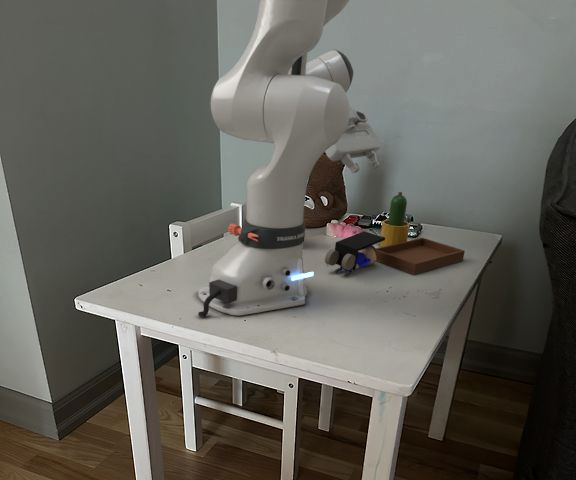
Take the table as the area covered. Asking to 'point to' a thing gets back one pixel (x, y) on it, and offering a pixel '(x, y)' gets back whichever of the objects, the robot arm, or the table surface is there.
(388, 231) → the cup
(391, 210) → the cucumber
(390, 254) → the tray
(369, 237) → the figurine character
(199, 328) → the table surface
